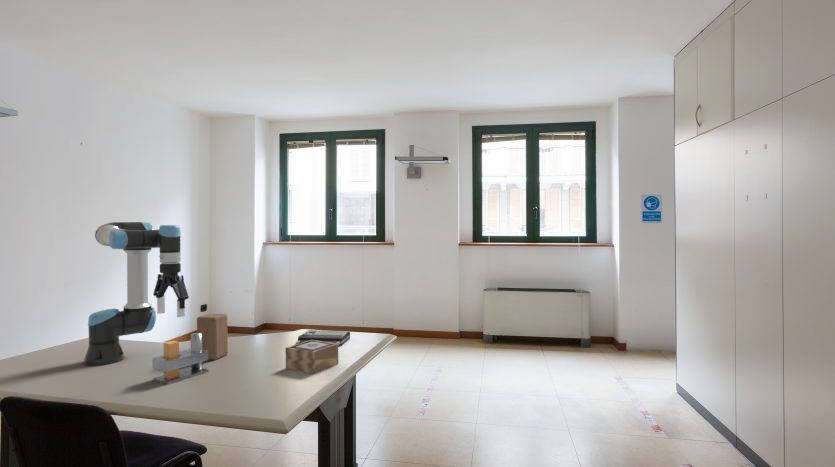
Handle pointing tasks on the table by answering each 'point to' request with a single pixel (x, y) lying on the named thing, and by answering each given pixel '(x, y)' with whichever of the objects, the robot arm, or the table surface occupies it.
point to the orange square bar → (171, 352)
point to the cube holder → (311, 358)
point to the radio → (325, 336)
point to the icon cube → (312, 346)
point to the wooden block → (213, 334)
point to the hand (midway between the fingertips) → (170, 315)
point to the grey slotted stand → (183, 361)
